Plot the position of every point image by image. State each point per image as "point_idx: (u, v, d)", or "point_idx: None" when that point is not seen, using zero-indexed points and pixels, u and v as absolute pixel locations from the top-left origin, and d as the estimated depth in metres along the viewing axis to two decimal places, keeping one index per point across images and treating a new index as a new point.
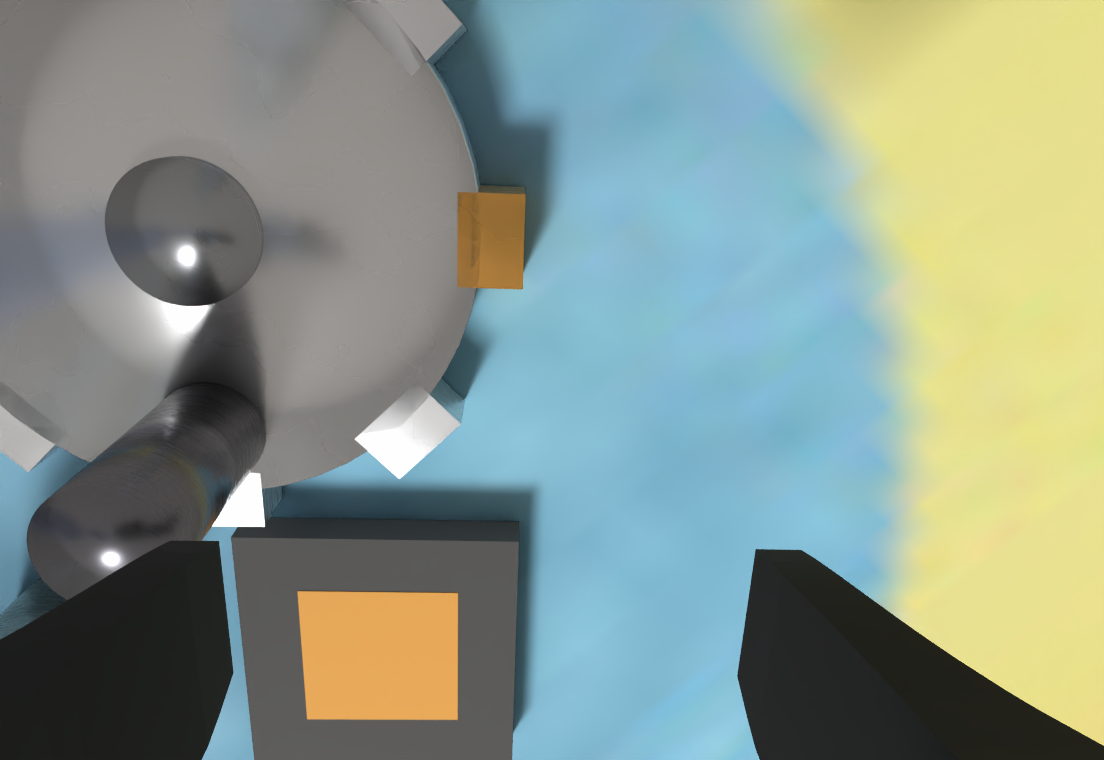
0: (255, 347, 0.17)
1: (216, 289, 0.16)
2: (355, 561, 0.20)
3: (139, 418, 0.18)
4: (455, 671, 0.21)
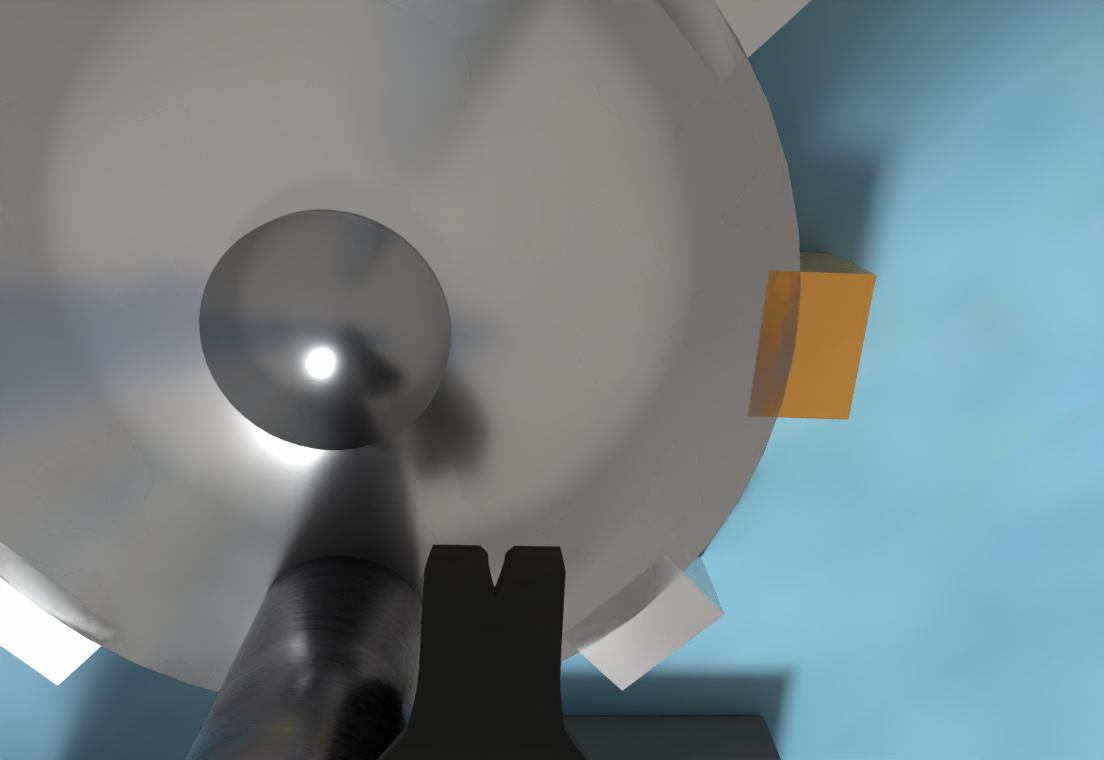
0: (422, 505, 0.11)
1: (375, 424, 0.10)
2: None
3: (233, 607, 0.11)
4: None
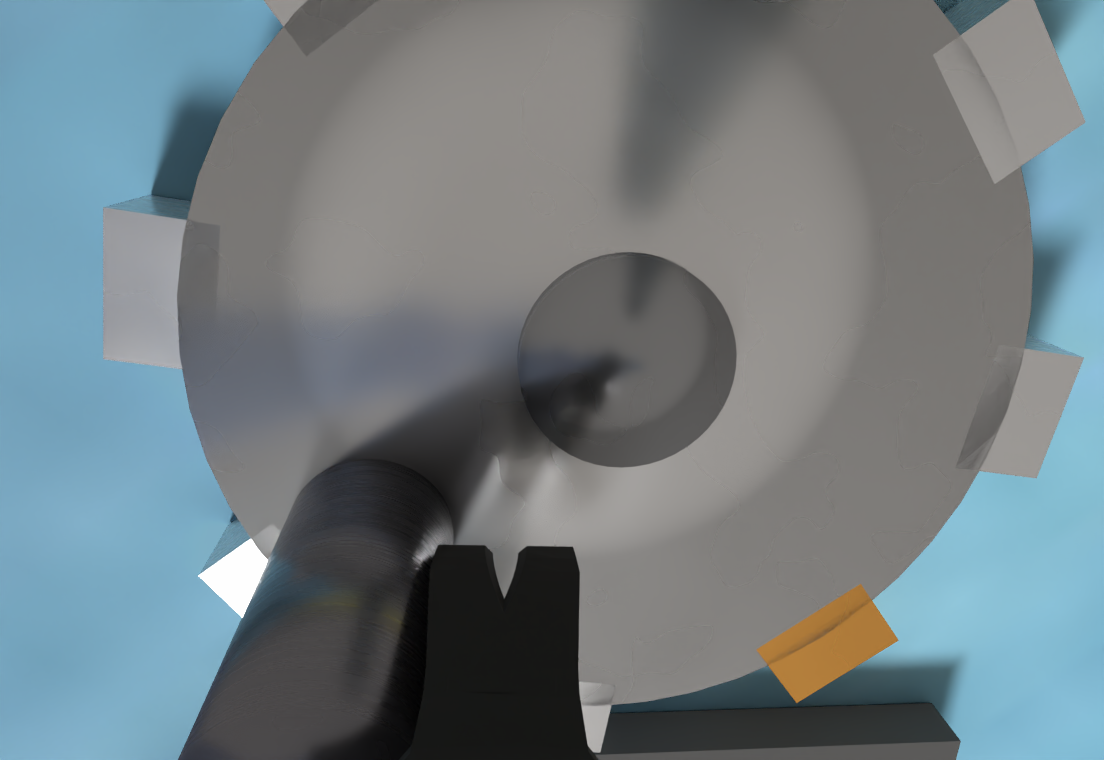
0: (528, 511, 0.12)
1: (585, 444, 0.11)
2: None
3: (316, 444, 0.11)
4: None
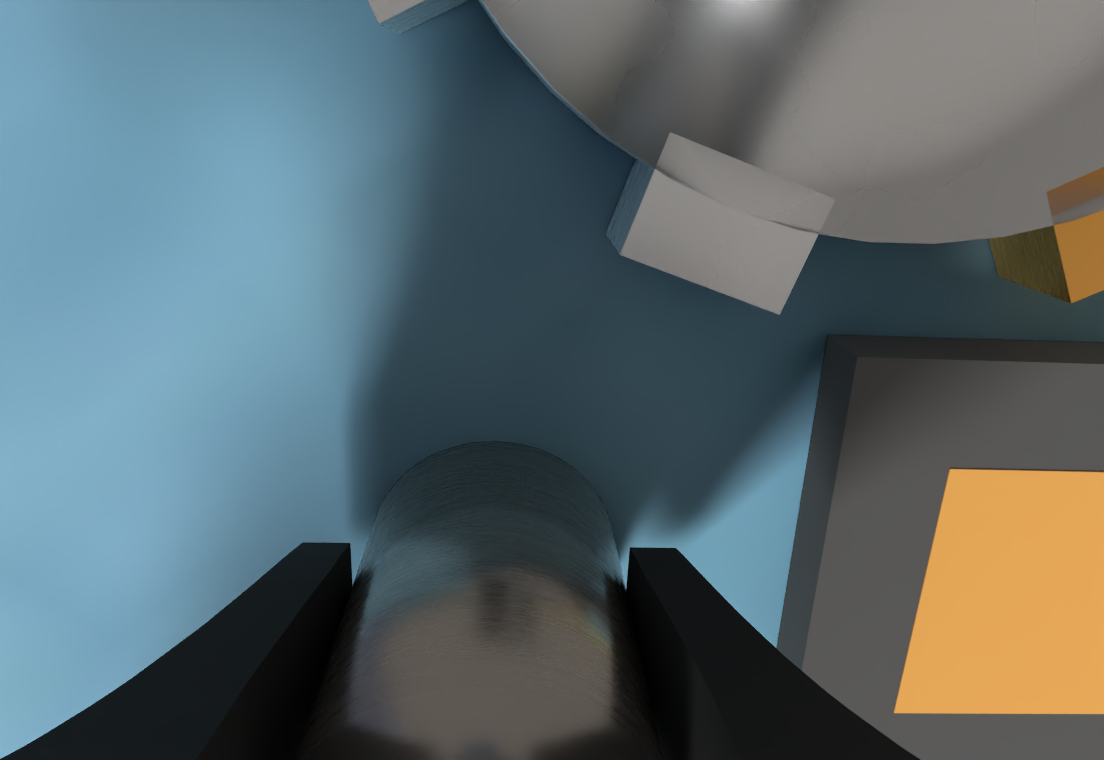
0: None
1: None
2: (1073, 409, 0.10)
3: None
4: None
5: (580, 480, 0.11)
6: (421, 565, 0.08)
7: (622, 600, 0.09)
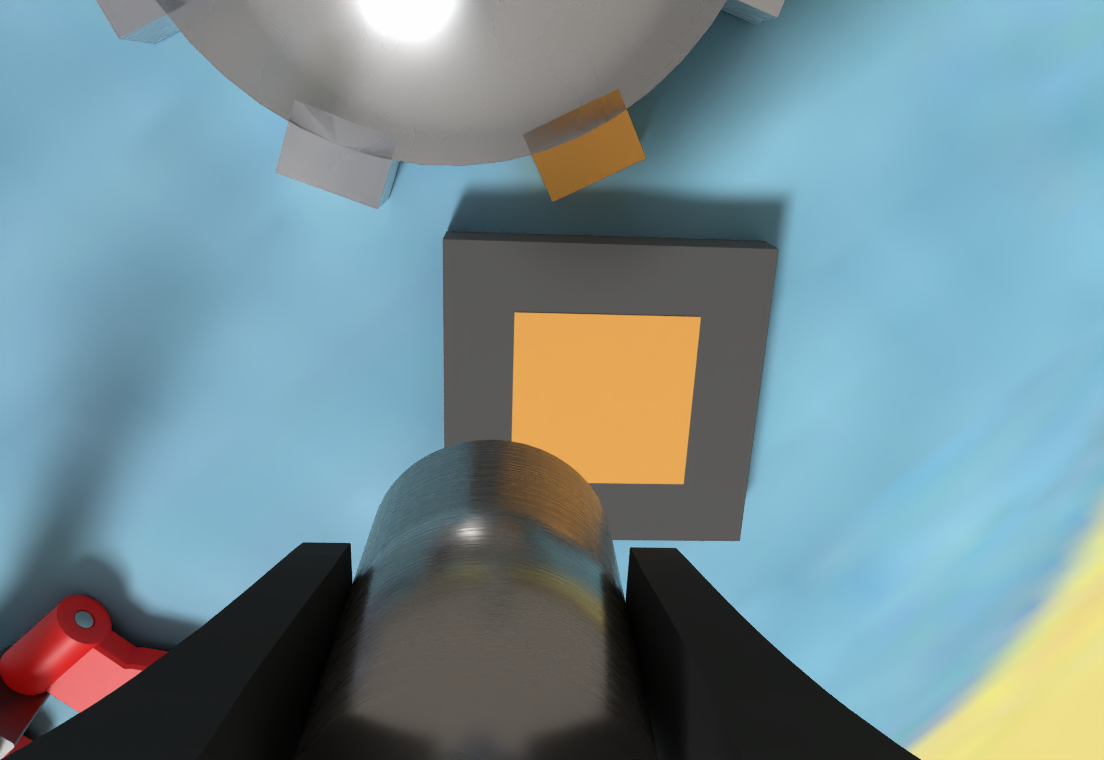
0: None
1: None
2: (585, 273, 0.17)
3: None
4: (687, 421, 0.18)
5: (577, 478, 0.11)
6: (419, 561, 0.09)
7: (618, 595, 0.09)
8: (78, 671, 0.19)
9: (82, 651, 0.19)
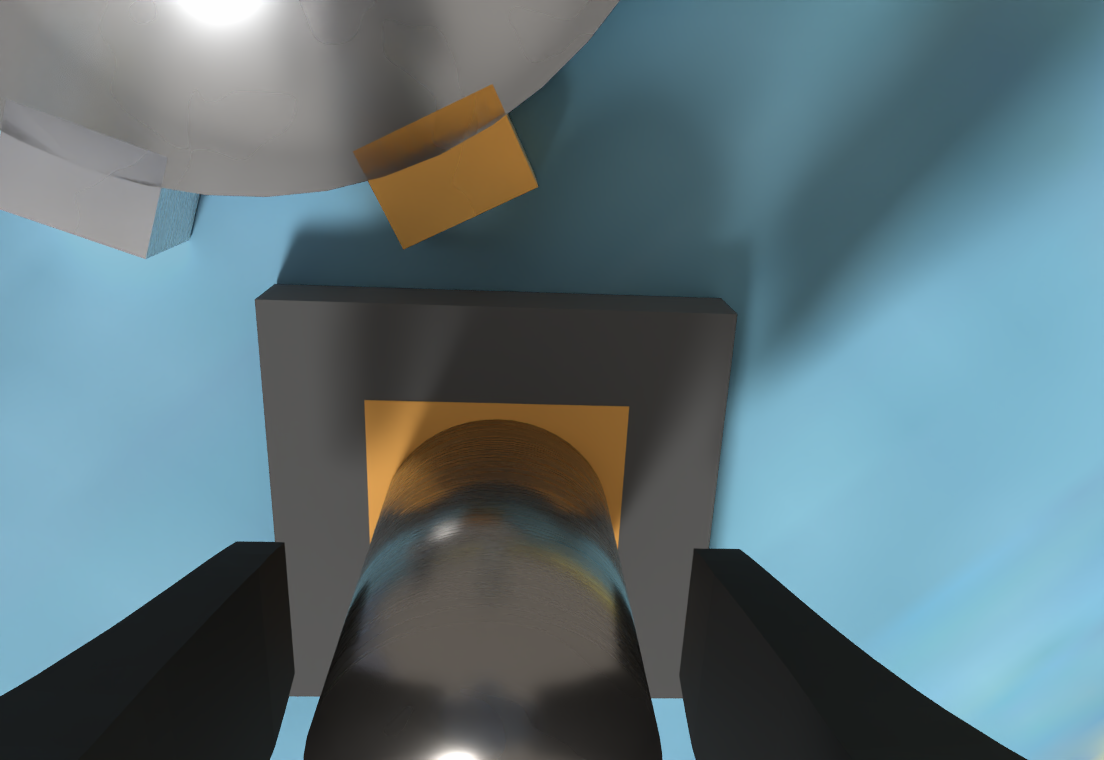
0: None
1: None
2: (462, 346, 0.12)
3: None
4: None
5: (577, 455, 0.12)
6: (432, 525, 0.09)
7: (614, 559, 0.10)
8: None
9: None
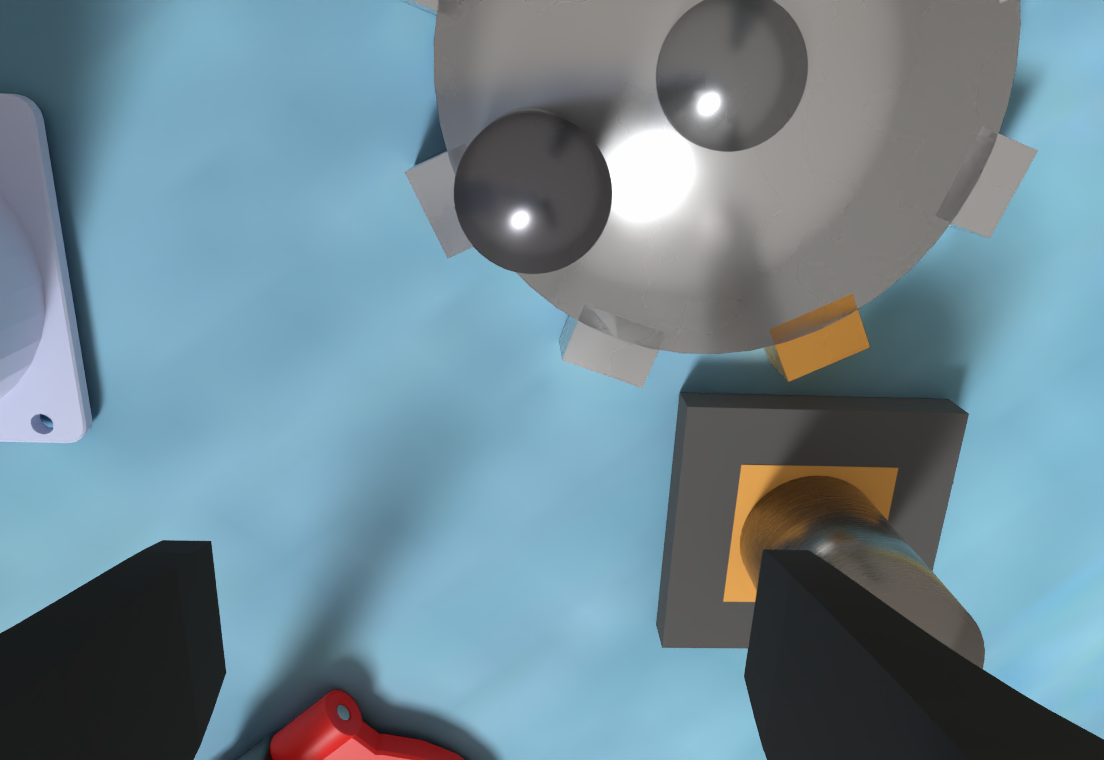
0: (637, 177, 0.17)
1: (692, 125, 0.16)
2: (804, 433, 0.20)
3: (509, 90, 0.16)
4: None
5: None
6: (835, 542, 0.17)
7: None
8: (336, 757, 0.22)
9: (344, 741, 0.22)
